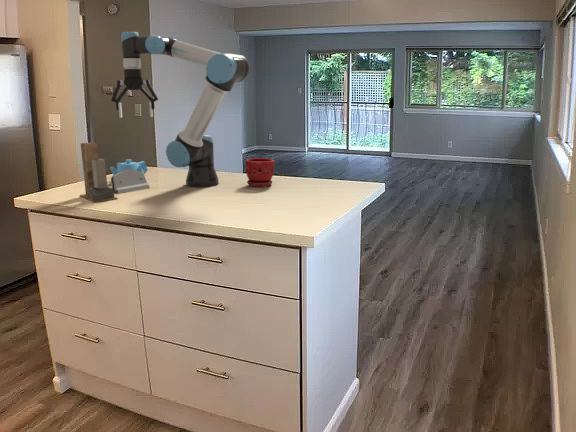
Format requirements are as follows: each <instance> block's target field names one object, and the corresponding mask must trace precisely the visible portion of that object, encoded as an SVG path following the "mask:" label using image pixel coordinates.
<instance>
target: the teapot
mask: <svg viewBox="0 0 576 432" xmlns="http://www.w3.org/2000/svg"><path fill="white" fill-rule="evenodd" d="M116 167H117V168H116ZM116 167H114V166H110V168H109V169H110V171H111V173H112V176H114V175H115V174H117V173H119V172H122V171H127V170H137V171H142V172H143V174H144V176H145V177H146V175H145V174H146V173H147V172H148V167H147V165H146V162H145V161H144V160H143V161H140V162H136V161H132V159H131V158H130V159H125V162H116Z"/></svg>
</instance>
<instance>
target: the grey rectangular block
mask: <svg viewBox="0 0 576 432" xmlns="http://www.w3.org/2000/svg"><path fill="white" fill-rule="evenodd" d="M92 169H93V179H94V189H96V190H101V189H108V188H107V186H108V178H107V167H106V159H104V158H98V159H92Z"/></svg>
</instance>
